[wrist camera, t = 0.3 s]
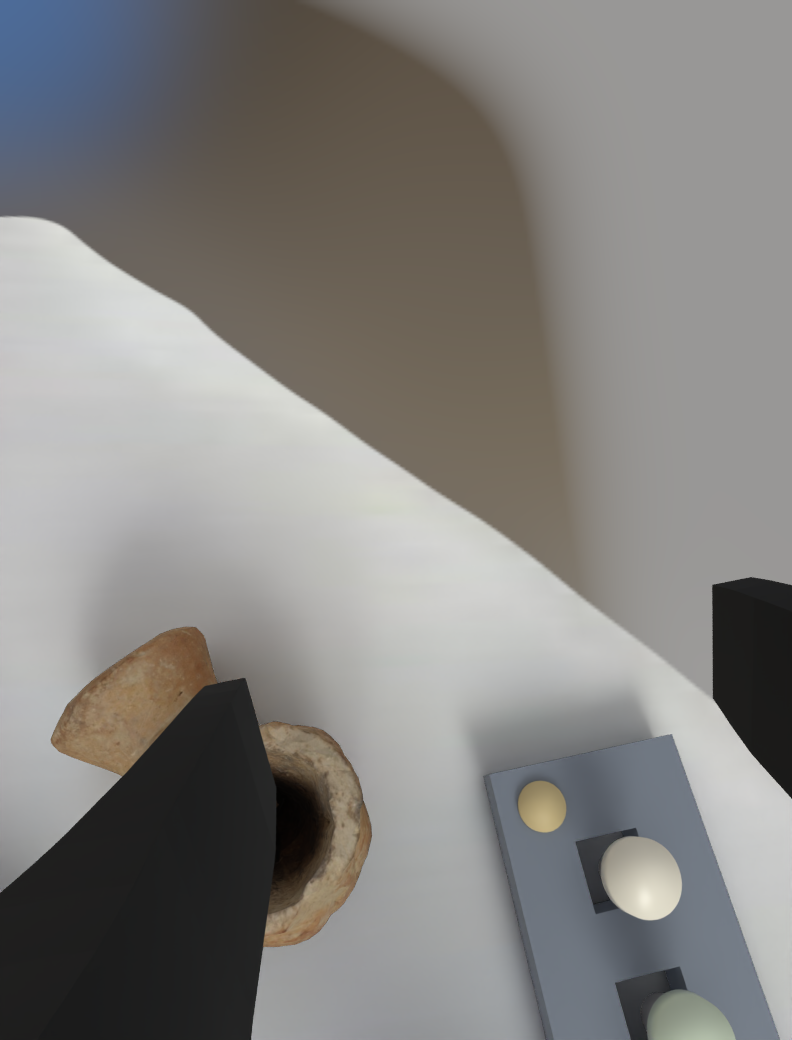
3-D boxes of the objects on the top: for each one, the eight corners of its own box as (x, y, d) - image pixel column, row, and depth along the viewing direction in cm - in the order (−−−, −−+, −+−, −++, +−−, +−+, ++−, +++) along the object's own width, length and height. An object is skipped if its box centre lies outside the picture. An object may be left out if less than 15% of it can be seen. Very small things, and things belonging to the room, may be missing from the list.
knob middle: (707, 1050, 29) (750, 1083, 26) (639, 1068, 29) (673, 1104, 26) (680, 966, 31) (718, 987, 27) (615, 983, 30) (644, 1006, 27)
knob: (659, 899, 32) (693, 910, 28) (596, 914, 31) (622, 928, 28) (636, 827, 33) (666, 830, 29) (575, 841, 33) (598, 845, 29)
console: (812, 1199, 29) (853, 1236, 27) (599, 1260, 29) (619, 1305, 26) (654, 738, 37) (673, 733, 35) (483, 776, 36) (490, 773, 34)
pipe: (199, 625, 40) (141, 571, 31) (409, 808, 36) (415, 808, 27) (83, 748, 37) (-19, 729, 28) (298, 961, 33) (261, 1021, 24)
